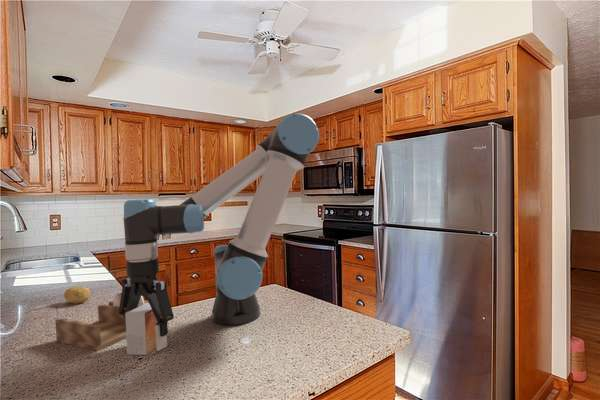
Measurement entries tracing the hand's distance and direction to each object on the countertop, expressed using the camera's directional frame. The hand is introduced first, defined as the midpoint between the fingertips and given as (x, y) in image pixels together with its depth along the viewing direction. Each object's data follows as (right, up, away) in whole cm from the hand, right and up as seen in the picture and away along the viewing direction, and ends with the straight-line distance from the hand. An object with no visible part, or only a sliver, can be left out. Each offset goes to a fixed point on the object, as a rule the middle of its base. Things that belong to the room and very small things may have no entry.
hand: (146, 344), depth 84 cm
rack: (-16, -1, +12) cm, 20 cm away
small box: (0, -1, 0) cm, 1 cm away
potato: (-47, -3, +43) cm, 64 cm away
